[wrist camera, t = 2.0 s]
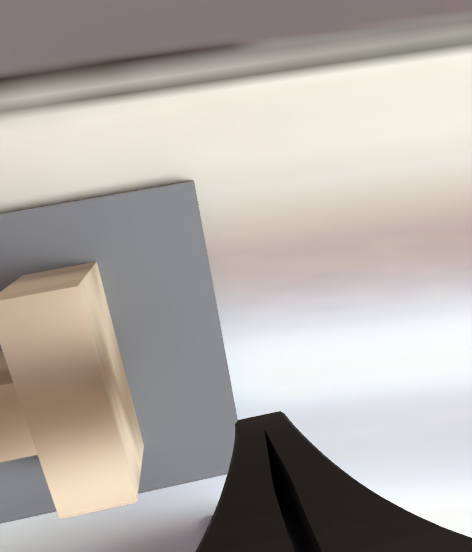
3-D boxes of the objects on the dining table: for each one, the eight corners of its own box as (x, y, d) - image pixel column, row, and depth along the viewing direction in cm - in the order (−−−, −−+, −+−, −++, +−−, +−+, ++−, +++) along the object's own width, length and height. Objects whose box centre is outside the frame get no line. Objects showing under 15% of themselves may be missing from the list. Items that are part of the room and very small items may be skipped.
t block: (143, 446, 21) (136, 502, 17) (-54, 487, 20) (-101, 554, 17) (96, 261, 18) (77, 286, 15) (-132, 303, 18) (-205, 338, 14)
